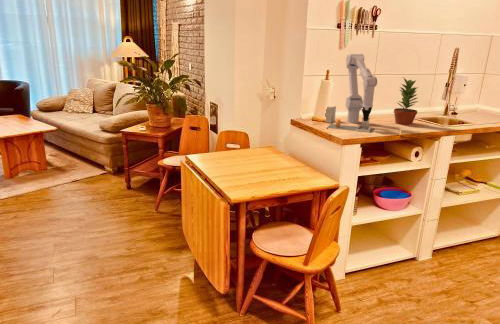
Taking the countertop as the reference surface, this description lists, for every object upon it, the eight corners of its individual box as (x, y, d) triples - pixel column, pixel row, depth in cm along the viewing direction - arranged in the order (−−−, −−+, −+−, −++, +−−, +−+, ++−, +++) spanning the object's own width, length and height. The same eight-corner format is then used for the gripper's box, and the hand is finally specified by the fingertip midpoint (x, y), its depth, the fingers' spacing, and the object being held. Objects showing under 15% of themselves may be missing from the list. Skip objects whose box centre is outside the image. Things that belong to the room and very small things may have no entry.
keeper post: (336, 126, 239) (336, 119, 237) (340, 126, 238) (340, 119, 237) (335, 127, 237) (336, 119, 235) (339, 127, 236) (339, 120, 234)
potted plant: (418, 126, 248) (426, 78, 239) (393, 125, 251) (400, 77, 241) (414, 121, 262) (421, 76, 252) (390, 120, 265) (396, 75, 255)
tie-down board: (330, 125, 245) (330, 123, 245) (375, 130, 235) (375, 128, 235) (326, 129, 234) (326, 127, 234) (372, 134, 224) (372, 132, 224)
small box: (334, 121, 256) (336, 106, 253) (330, 123, 252) (331, 107, 249) (324, 120, 261) (325, 104, 258) (320, 121, 257) (321, 105, 254)
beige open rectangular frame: (358, 126, 239) (359, 116, 237) (371, 128, 236) (373, 118, 234) (355, 130, 228) (356, 120, 226) (369, 132, 225) (370, 121, 223)
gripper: (362, 95, 239) (359, 117, 243) (360, 98, 226) (358, 121, 230) (374, 96, 237) (371, 118, 241) (373, 99, 223) (370, 122, 228)
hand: (365, 120), depth 235 cm, fingers open, 7 cm apart
